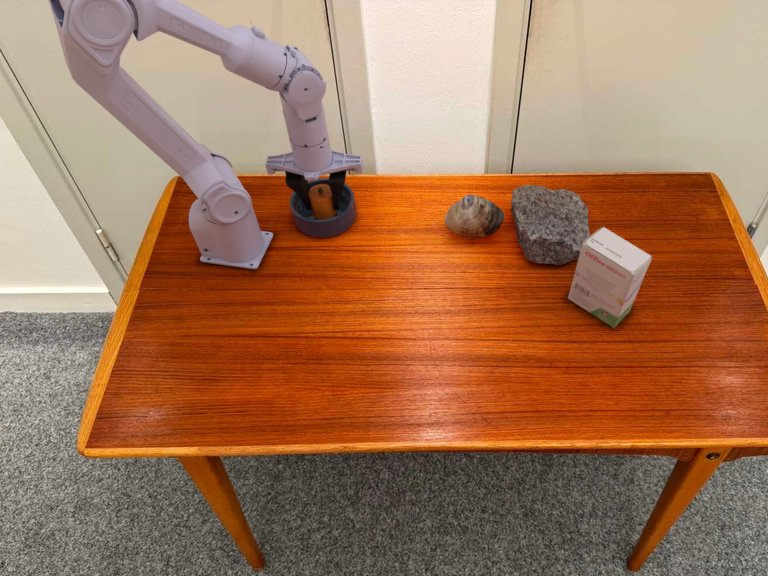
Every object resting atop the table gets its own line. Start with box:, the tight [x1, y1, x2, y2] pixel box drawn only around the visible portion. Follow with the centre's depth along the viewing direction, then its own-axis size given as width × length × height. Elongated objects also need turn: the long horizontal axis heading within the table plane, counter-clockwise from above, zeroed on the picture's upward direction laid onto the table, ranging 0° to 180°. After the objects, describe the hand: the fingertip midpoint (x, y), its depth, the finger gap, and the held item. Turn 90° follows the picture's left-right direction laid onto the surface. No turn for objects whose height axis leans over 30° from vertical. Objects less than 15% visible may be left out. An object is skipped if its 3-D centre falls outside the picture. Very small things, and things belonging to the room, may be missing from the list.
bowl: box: [289, 177, 358, 238], centre depth 104 cm, size 10×10×4 cm
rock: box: [510, 184, 591, 266], centre depth 101 cm, size 13×6×15 cm
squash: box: [308, 184, 337, 220], centre depth 103 cm, size 4×4×5 cm
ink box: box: [567, 226, 653, 329], centre depth 90 cm, size 9×5×12 cm, turn 47°
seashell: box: [444, 194, 505, 240], centre depth 100 cm, size 10×6×8 cm, turn 87°
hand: (323, 205), depth 103 cm, fingers closed on squash, 4 cm apart
